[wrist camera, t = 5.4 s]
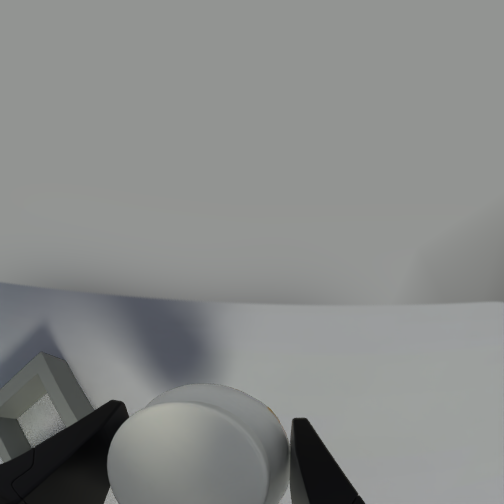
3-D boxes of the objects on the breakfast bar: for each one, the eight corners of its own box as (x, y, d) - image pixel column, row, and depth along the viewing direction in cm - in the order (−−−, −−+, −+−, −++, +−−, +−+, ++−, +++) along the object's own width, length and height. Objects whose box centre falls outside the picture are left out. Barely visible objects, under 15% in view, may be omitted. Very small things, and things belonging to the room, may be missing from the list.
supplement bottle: (161, 447, 14) (50, 470, 6) (220, 373, 16) (160, 328, 8) (243, 506, 13) (210, 599, 4) (305, 430, 15) (347, 455, 6)
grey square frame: (55, 504, 16) (31, 510, 13) (5, 413, 20) (-21, 409, 17) (127, 458, 19) (106, 463, 16) (65, 360, 23) (41, 351, 20)
